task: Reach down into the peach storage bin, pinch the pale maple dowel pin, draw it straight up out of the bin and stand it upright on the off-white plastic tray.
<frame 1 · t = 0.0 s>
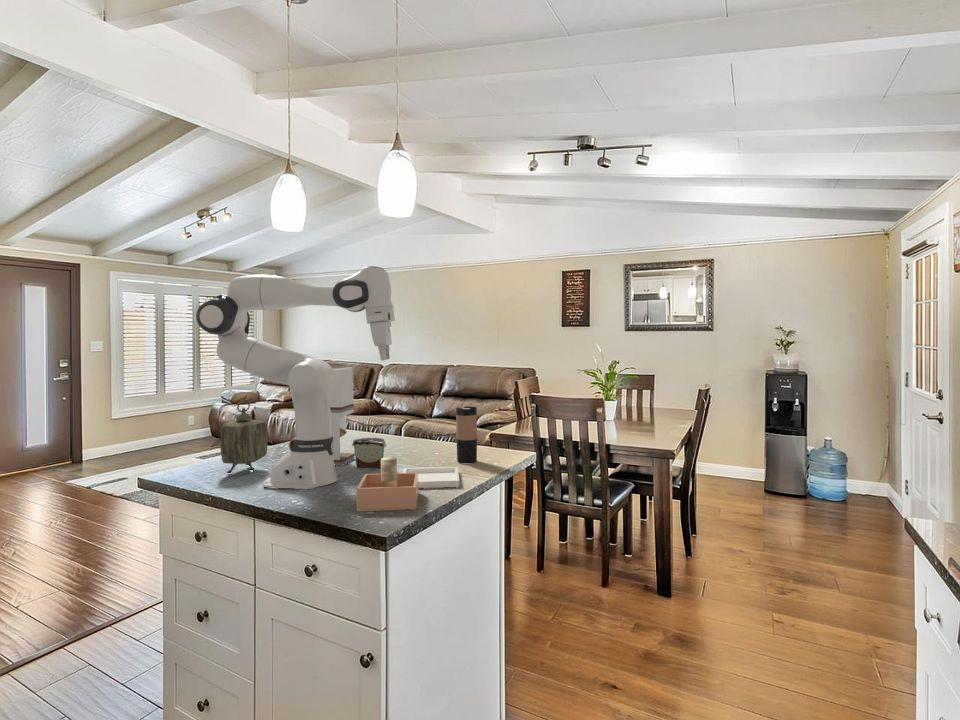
hand: (385, 359, 172), 39 cm above the countertop, tool pointing down, fingers open, 8 cm apart
peach storage bin: (389, 501, 150), on the countertop
travel mug: (467, 462, 197), on the countertop
tabletop clock: (246, 472, 186), on the countertop
tray: (430, 480, 171), on the countertop
dowel pin: (389, 480, 150), in the peach storage bin
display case: (335, 462, 200), on the countertop
food container: (372, 467, 191), on the countertop
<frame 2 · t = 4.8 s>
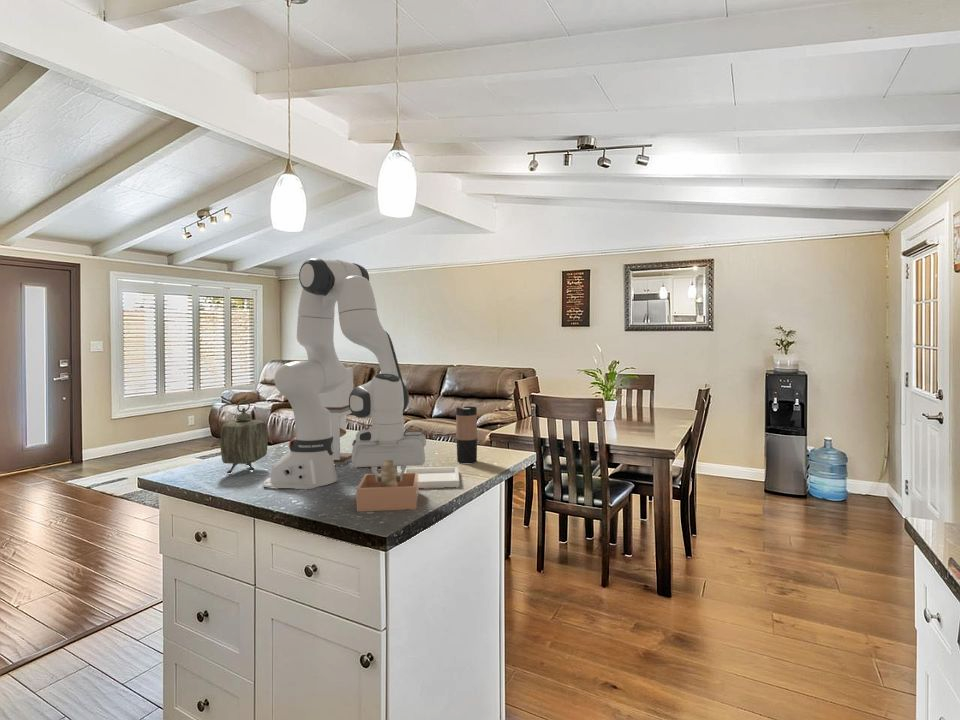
hand: (389, 481, 150), 6 cm above the countertop, tool pointing down, fingers closed on dowel pin, 4 cm apart
dowel pin: (389, 480, 150), in the peach storage bin, touching gripper
everything else where it was.
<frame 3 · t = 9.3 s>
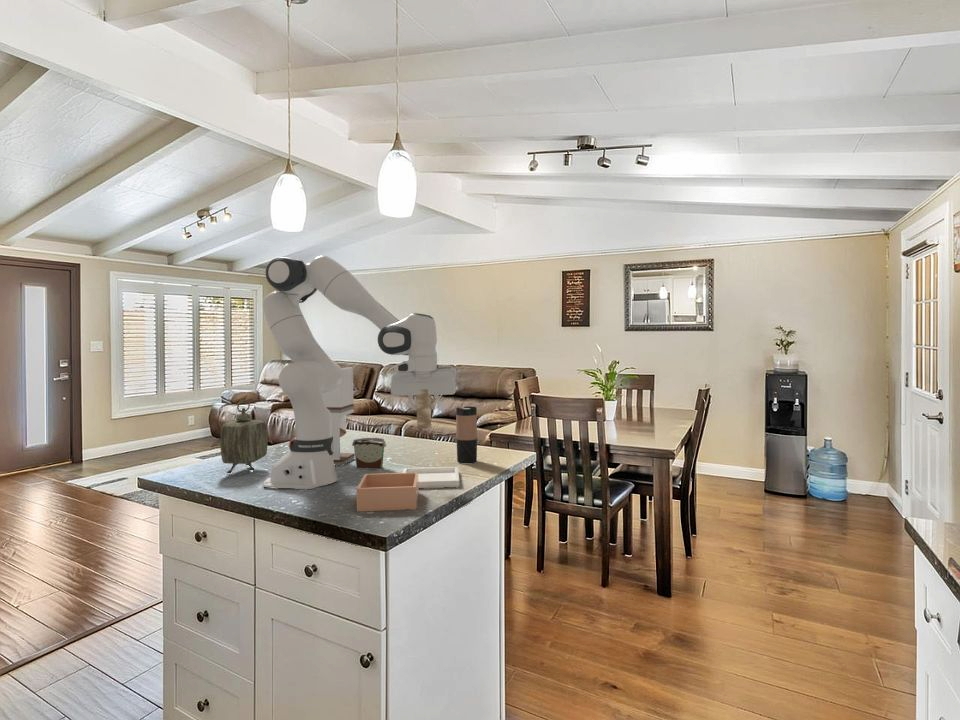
hand: (423, 409, 167), 23 cm above the countertop, tool pointing down, fingers closed on dowel pin, 4 cm apart
dowel pin: (423, 408, 167), point 24 cm above the countertop, touching gripper
everything else where it was.
when the fingers open (6 cm above the countertop, at t = 14.1 s): dowel pin stays where it is, resting on tray.
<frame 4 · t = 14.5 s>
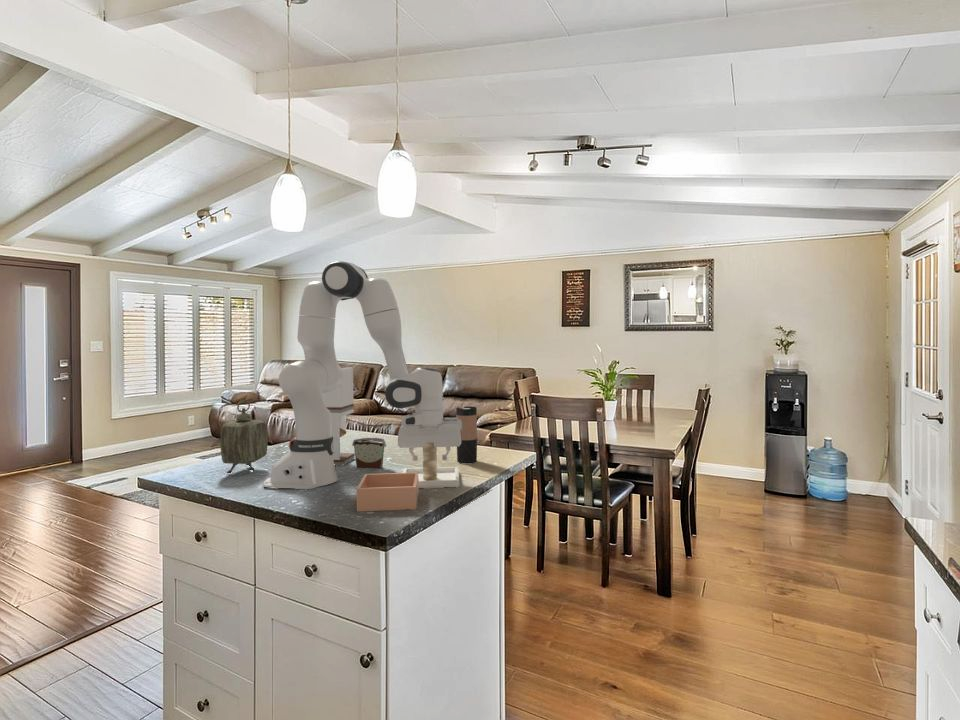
hand: (430, 460, 171), 6 cm above the countertop, tool pointing down, fingers open, 8 cm apart
dowel pin: (429, 460, 171), in the tray, point 7 cm above the countertop
everything else where it was.
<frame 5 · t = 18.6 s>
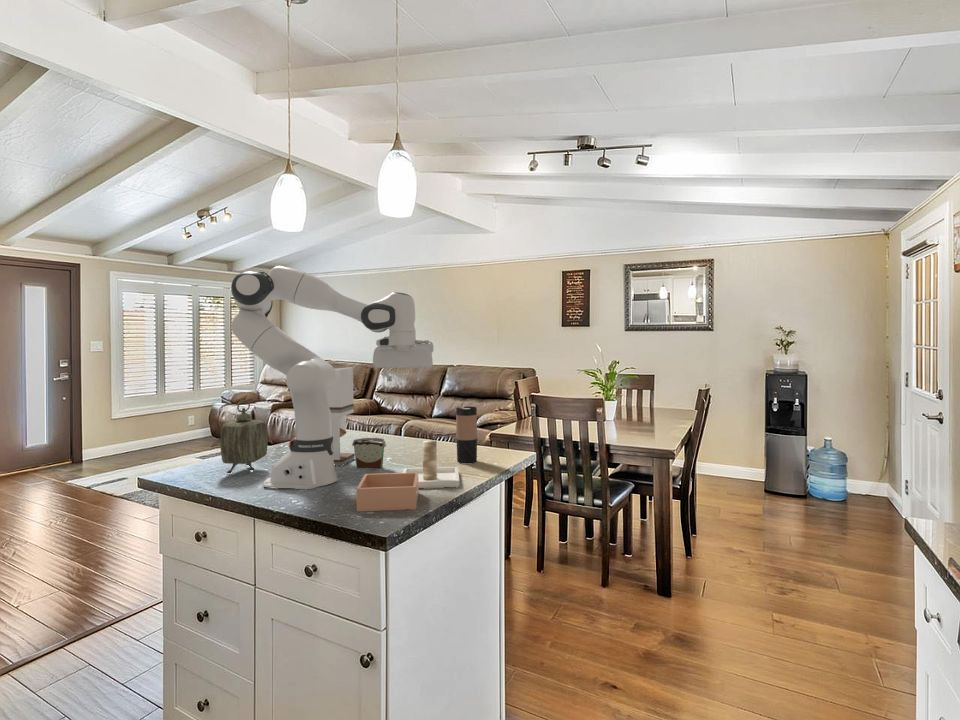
hand: (403, 381, 183), 31 cm above the countertop, tool pointing down, fingers open, 8 cm apart
nothing on the countertop moved.
at the end: dowel pin inside the target area on the tray (0.1 cm from its centre), point 6.6 cm above the tray's base; dowel pin tilted 0°; the gripper is holding nothing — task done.
